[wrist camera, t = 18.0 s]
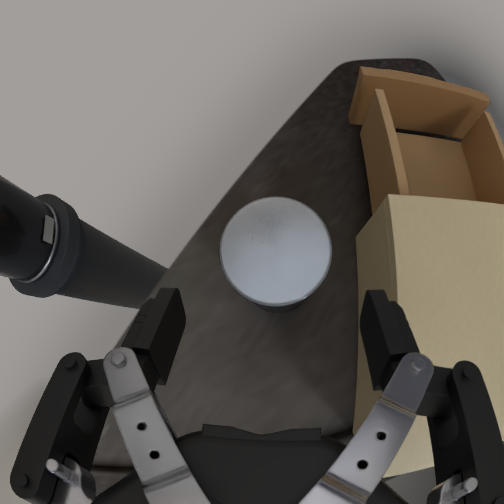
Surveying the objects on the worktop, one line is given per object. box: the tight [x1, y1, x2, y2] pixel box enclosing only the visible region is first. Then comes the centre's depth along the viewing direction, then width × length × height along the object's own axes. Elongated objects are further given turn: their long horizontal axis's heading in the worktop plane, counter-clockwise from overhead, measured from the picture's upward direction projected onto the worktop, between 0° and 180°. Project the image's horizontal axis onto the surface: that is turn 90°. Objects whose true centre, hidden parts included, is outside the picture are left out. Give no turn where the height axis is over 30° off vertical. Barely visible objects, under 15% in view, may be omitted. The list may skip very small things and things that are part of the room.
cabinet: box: [353, 194, 504, 478], centre depth 18 cm, size 18×16×9 cm
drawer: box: [348, 67, 504, 215], centre depth 22 cm, size 21×15×7 cm
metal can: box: [219, 197, 332, 313], centre depth 20 cm, size 6×6×11 cm
